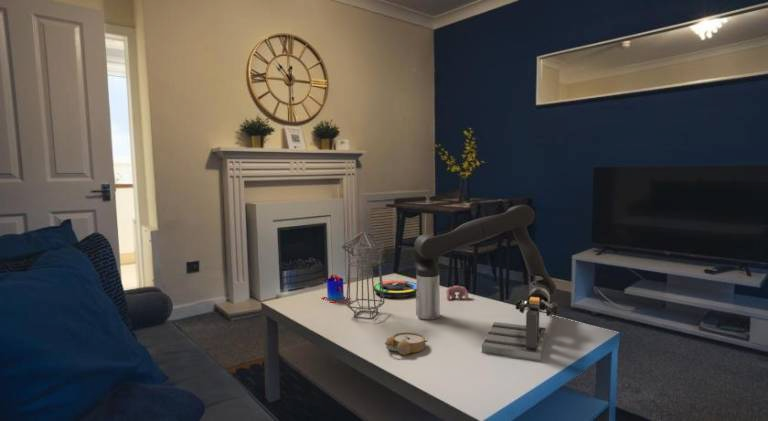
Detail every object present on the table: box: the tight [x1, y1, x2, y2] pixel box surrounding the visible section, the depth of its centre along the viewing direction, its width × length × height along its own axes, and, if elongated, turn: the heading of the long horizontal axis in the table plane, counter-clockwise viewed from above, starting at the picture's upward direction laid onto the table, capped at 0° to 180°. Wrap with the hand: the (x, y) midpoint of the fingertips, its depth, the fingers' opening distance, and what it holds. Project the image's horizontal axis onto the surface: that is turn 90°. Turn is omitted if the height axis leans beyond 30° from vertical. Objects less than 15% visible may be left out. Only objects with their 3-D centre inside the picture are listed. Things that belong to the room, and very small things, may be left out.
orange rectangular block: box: [529, 297, 540, 305], centre depth 150 cm, size 3×4×11 cm
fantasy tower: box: [320, 274, 352, 305], centre depth 203 cm, size 12×12×12 cm
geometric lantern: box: [340, 231, 388, 320], centre depth 179 cm, size 16×16×35 cm
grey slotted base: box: [481, 304, 547, 362], centre depth 146 cm, size 18×23×14 cm
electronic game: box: [374, 280, 417, 299], centre depth 212 cm, size 23×23×5 cm
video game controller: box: [445, 285, 469, 301], centre depth 199 cm, size 10×5×7 cm, turn 86°
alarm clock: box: [384, 331, 428, 356], centre depth 144 cm, size 11×5×15 cm
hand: (534, 311), depth 151 cm, fingers open, 8 cm apart
